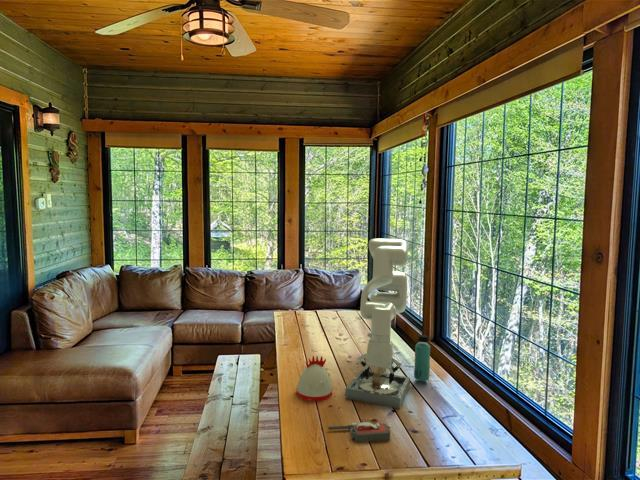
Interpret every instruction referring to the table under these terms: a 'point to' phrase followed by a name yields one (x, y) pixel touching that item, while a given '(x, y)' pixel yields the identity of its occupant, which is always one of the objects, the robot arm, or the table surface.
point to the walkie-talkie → (366, 431)
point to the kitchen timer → (314, 381)
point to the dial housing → (374, 397)
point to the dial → (379, 383)
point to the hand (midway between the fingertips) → (379, 380)
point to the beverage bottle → (422, 359)
